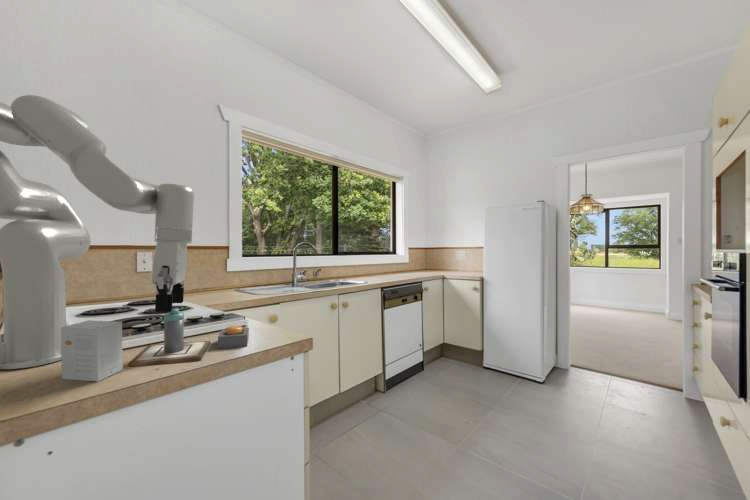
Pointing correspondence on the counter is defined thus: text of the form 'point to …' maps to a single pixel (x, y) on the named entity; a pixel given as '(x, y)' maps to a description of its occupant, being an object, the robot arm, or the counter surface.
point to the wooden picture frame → (170, 354)
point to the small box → (91, 350)
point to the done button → (234, 330)
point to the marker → (173, 331)
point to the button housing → (233, 339)
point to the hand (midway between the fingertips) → (170, 307)
